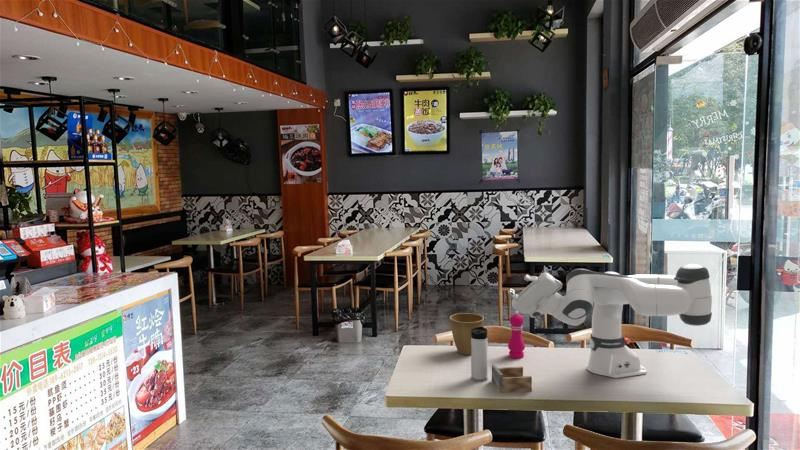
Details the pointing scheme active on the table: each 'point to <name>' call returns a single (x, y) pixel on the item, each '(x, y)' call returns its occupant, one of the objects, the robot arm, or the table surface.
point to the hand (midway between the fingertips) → (517, 283)
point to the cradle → (510, 379)
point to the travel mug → (479, 354)
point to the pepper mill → (516, 337)
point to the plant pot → (464, 330)
